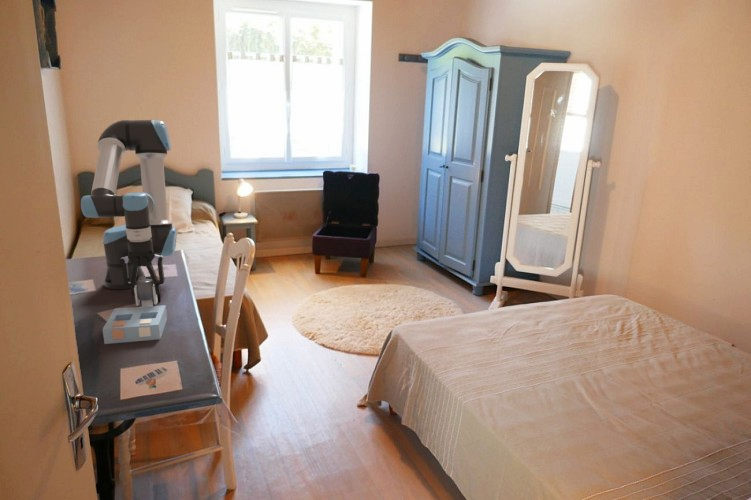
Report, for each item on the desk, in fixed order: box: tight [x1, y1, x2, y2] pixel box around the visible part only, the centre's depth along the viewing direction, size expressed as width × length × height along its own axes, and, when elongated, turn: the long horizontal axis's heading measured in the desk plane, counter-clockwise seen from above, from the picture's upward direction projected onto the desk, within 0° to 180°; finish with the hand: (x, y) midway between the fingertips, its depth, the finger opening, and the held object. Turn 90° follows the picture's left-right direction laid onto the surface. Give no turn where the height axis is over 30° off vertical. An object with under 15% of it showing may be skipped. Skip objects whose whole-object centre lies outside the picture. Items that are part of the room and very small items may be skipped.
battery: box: [138, 275, 162, 304], centre depth 191 cm, size 4×7×10 cm, turn 111°
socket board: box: [102, 304, 168, 345], centre depth 167 cm, size 16×16×5 cm
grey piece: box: [136, 279, 154, 307], centre depth 180 cm, size 5×5×12 cm
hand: (147, 303), depth 180 cm, fingers closed on grey piece, 5 cm apart
